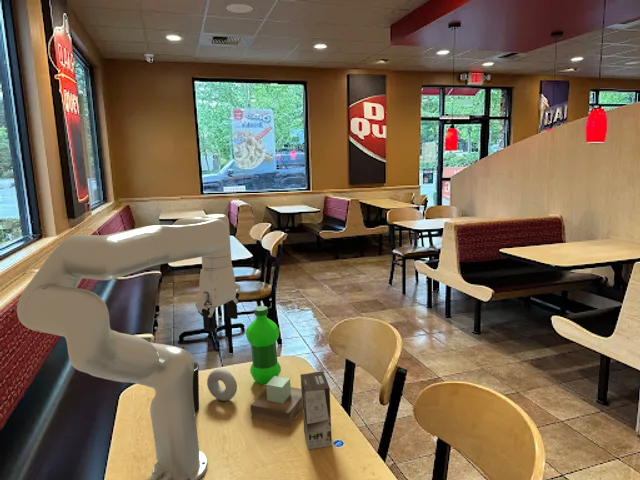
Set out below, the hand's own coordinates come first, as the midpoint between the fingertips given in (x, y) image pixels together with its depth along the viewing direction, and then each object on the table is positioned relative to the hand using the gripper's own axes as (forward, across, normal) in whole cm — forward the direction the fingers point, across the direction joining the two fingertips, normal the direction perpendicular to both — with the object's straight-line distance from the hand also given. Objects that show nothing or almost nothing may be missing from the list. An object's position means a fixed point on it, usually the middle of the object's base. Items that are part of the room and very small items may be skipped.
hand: (221, 324), depth 118 cm
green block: (+24, -10, +10) cm, 28 cm away
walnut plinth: (+28, -10, +10) cm, 32 cm away
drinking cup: (+29, 0, -14) cm, 32 cm away
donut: (+29, -9, -8) cm, 31 cm away
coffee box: (+29, -4, +26) cm, 39 cm away
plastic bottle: (+28, -23, -2) cm, 36 cm away
